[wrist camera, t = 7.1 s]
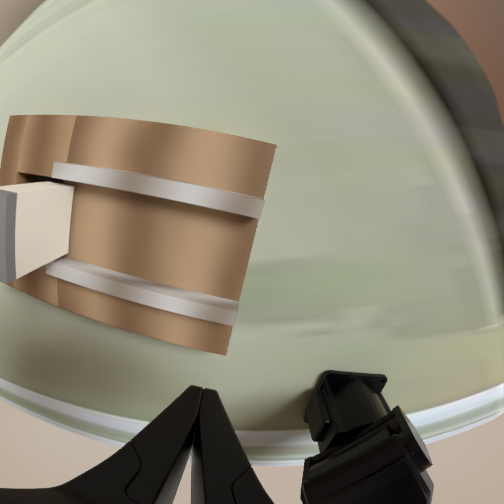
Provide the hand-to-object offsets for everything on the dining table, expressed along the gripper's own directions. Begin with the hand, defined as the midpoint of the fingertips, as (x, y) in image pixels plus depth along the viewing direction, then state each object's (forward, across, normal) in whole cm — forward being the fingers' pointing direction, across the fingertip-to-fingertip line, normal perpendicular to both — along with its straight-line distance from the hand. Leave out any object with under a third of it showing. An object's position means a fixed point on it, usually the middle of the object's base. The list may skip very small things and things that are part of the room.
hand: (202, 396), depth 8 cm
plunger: (+10, +12, -2) cm, 16 cm away
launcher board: (+13, +9, -2) cm, 16 cm away
